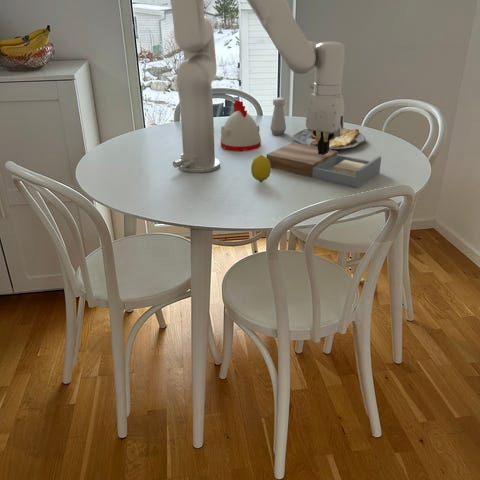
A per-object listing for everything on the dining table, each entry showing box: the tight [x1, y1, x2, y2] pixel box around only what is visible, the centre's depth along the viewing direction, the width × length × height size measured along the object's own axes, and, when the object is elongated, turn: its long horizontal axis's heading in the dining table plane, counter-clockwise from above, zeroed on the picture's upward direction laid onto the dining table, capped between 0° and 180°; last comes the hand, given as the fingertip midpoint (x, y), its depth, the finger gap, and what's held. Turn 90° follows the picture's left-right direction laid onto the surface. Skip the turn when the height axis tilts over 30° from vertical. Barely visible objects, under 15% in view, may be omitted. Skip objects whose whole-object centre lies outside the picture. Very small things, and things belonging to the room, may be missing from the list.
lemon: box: [250, 154, 272, 183], centre depth 139 cm, size 6×6×8 cm
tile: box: [334, 160, 366, 176], centre depth 143 cm, size 7×7×2 cm
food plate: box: [292, 127, 367, 151], centre depth 174 cm, size 25×23×4 cm
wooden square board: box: [266, 142, 338, 179], centre depth 152 cm, size 15×16×4 cm
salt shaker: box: [270, 97, 287, 136], centre depth 181 cm, size 6×6×13 cm
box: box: [312, 153, 382, 189], centre depth 144 cm, size 15×14×5 cm
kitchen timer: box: [220, 99, 262, 152], centre depth 169 cm, size 14×14×15 cm
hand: (323, 153), depth 147 cm, fingers closed
